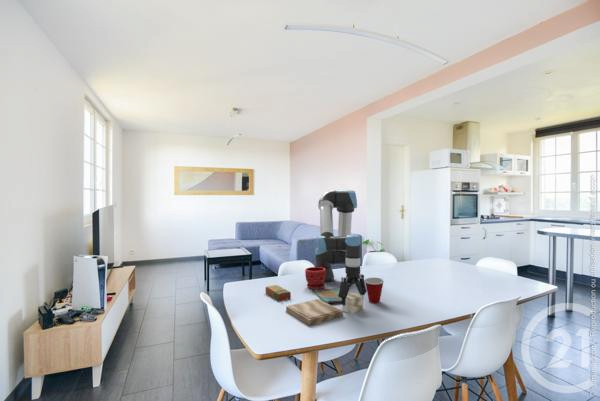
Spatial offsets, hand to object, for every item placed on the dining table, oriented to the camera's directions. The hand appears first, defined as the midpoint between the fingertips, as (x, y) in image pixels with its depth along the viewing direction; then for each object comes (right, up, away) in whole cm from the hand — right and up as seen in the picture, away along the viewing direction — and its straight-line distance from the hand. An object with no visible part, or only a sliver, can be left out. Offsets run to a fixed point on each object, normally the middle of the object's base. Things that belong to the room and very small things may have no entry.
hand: (352, 308), depth 150 cm
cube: (0, 0, 0) cm, 0 cm away
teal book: (-8, -1, +19) cm, 21 cm away
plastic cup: (+14, 0, +12) cm, 18 cm away
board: (-20, 0, -6) cm, 21 cm away
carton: (-40, 0, +20) cm, 45 cm away
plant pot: (-17, 0, +37) cm, 41 cm away
